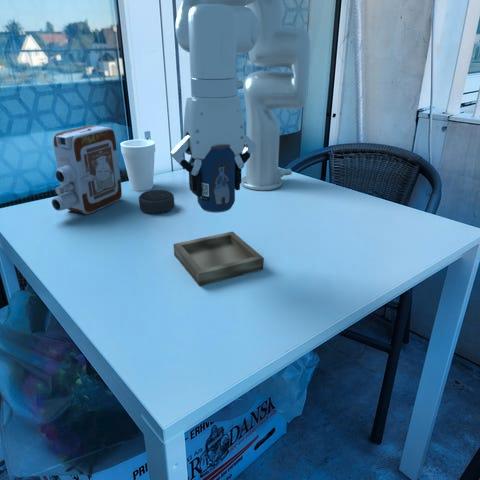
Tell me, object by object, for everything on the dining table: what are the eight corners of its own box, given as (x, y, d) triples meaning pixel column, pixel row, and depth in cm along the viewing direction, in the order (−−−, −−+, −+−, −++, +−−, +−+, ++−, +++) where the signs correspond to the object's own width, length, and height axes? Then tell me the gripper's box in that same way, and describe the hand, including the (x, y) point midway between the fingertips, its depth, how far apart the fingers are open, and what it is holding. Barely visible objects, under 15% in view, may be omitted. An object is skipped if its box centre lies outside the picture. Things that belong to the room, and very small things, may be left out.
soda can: (213, 198, 84) (212, 136, 79) (242, 205, 81) (242, 142, 75) (190, 208, 79) (186, 143, 74) (219, 217, 75) (218, 149, 70)
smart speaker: (149, 201, 116) (148, 187, 114) (180, 204, 113) (179, 190, 112) (133, 213, 108) (132, 198, 106) (166, 217, 106) (164, 202, 104)
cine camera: (44, 218, 104) (26, 136, 96) (101, 194, 120) (91, 121, 111) (71, 225, 101) (55, 140, 92) (127, 199, 116) (118, 125, 107)
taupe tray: (232, 241, 93) (232, 231, 92) (263, 269, 82) (263, 257, 81) (174, 254, 88) (173, 243, 87) (199, 286, 77) (198, 274, 76)
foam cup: (132, 181, 130) (128, 138, 124) (162, 183, 129) (158, 140, 123) (120, 191, 122) (115, 146, 116) (151, 193, 120) (147, 147, 115)
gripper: (249, 84, 77) (247, 179, 85) (156, 89, 70) (164, 192, 78) (270, 89, 71) (267, 190, 79) (171, 94, 64) (178, 205, 72)
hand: (215, 190), depth 78 cm, fingers closed on soda can, 7 cm apart
